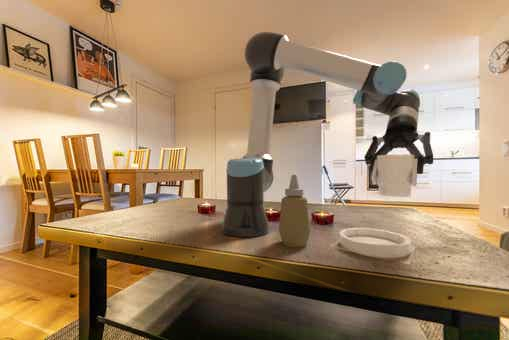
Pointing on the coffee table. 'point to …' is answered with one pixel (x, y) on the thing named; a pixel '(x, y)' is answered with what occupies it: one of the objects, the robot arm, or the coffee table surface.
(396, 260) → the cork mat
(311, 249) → the coffee table surface
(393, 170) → the white cup
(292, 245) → the squeeze bottle
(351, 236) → the dish
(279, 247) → the coffee table surface
